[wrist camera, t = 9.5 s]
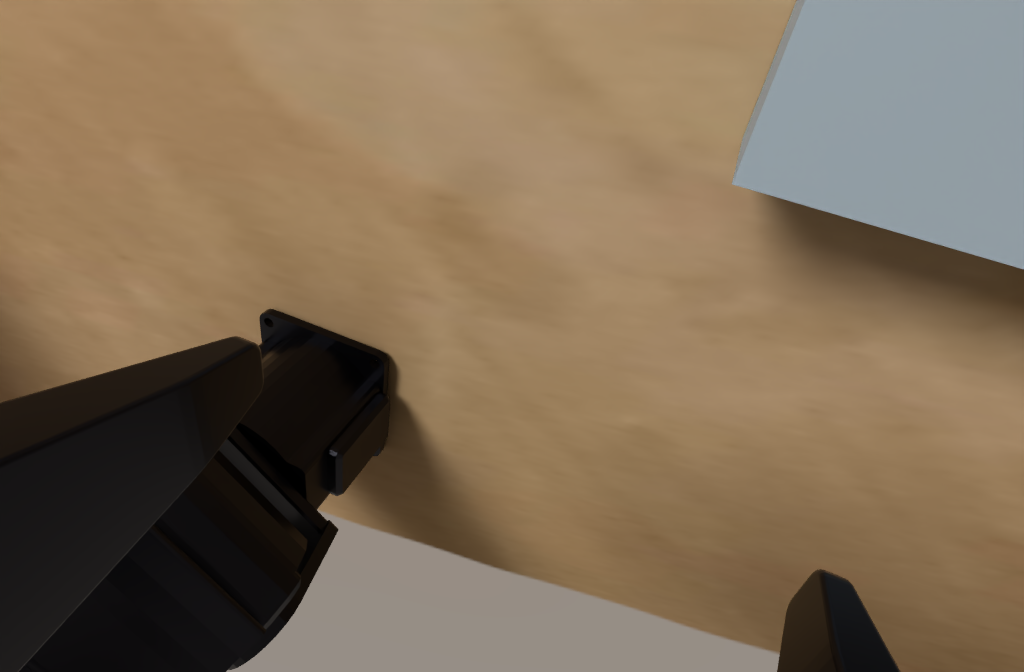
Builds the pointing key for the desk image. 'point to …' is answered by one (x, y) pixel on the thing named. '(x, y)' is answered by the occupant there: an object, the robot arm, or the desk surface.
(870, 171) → the socket block
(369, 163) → the desk surface
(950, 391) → the desk surface
